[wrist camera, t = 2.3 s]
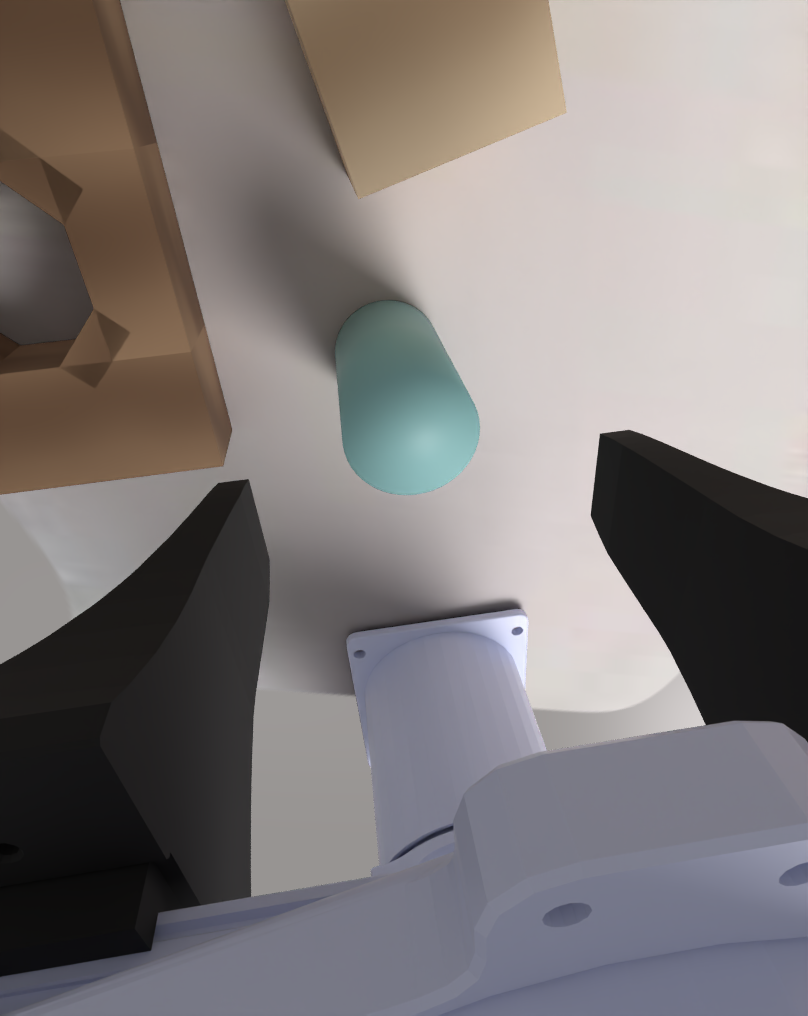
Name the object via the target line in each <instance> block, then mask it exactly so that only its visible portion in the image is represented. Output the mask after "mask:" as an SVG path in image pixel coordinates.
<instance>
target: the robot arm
mask: <svg viewBox="0 0 808 1016" xmlns="http://www.w3.org/2000/svg"><path fill="white" fill-rule="evenodd" d="M591 517H592V520H593V522H594V524H595V527H596V529H597V531H598V534H599V536H600V538H601V540H602V542H603V545H604V547H605V549H606V551H607V553H608V555H609V556H610V558H611V560H612V561H613V563H614V564H615V566H616V567H617V569H618V571H619V572H620V574H621V575H622V577H623V578H624V580H625V581H626V583H627V585H628V586H629V588H630V589H631V591H632V592H633V594H634V595H635V597H636V598H637V600H638V601H639V603H640V604H641V606H642V607H643V609H644V610H645V612H646V613H647V615H648V616H649V618H650V620H651V621H652V623H653V624H654V626H655V627H656V629H657V630H658V632H659V633H660V635H661V637H662V638H663V640H664V642H665V643H666V645H667V647H668V648H669V650H670V652H671V654H672V656H673V658H674V660H675V662H676V664H677V666H678V668H679V670H680V672H681V674H682V676H683V678H684V680H685V682H686V684H687V686H688V688H689V690H690V692H691V694H692V696H693V698H694V700H695V703H696V705H697V707H698V709H699V711H700V713H701V715H702V717H703V720H704V722H705V724H706V725H704V726H698V727H692V728H686V729H679V730H673V731H667V732H661V733H654V734H649V735H642V736H636V737H629V738H623V739H617V740H611V741H605V742H598V743H592V744H586V745H579V746H573V747H567V748H561V749H554V750H548V751H547V749H546V746H545V744H544V741H543V738H542V735H541V733H540V730H539V727H538V724H537V721H536V719H535V716H534V713H533V710H532V707H531V705H530V702H529V699H528V696H527V694H526V691H525V680H526V660H527V640H528V617H527V614H526V612H525V611H524V610H521V609H513V610H506V611H499V612H492V613H485V614H478V615H472V616H465V617H458V618H451V619H444V620H437V621H430V622H423V623H416V624H410V625H403V626H396V627H389V628H382V629H375V630H368V631H361V632H355V633H352V634H351V635H349V636H348V638H347V640H346V645H347V652H348V657H349V663H350V668H351V673H352V679H353V684H354V689H355V695H356V700H357V706H358V711H359V716H360V722H361V727H362V732H363V737H364V743H365V748H366V753H367V759H368V764H369V766H370V767H371V774H372V786H373V797H374V809H375V820H376V831H377V844H378V855H379V866H376V867H373V868H372V869H371V877H367V878H361V879H355V880H349V881H343V882H337V883H331V884H325V885H320V886H313V887H308V888H302V889H296V890H290V891H284V892H278V893H272V894H266V895H260V896H254V897H251V869H250V868H251V775H252V742H253V715H254V705H255V695H256V688H257V681H258V675H259V668H260V661H261V655H262V648H263V641H264V635H265V628H266V621H267V614H268V607H269V585H270V566H269V556H268V552H267V548H266V544H265V540H264V536H263V533H262V529H261V525H260V521H259V517H258V513H257V509H256V506H255V502H254V498H253V494H252V490H251V486H250V482H249V479H247V480H239V481H231V482H223V483H218V484H217V485H216V486H215V487H214V488H213V489H212V490H211V491H210V492H209V493H208V494H207V496H206V497H205V498H204V499H203V500H202V501H201V503H200V504H199V505H198V506H197V507H196V508H195V509H194V511H193V512H192V513H191V514H190V515H189V516H188V517H187V518H186V520H185V521H184V522H183V523H182V524H181V525H180V526H179V527H178V528H177V529H176V531H175V532H174V533H173V534H172V535H171V536H170V537H169V538H168V539H167V540H166V541H165V542H164V543H163V544H162V545H161V546H160V547H159V548H158V549H157V550H156V551H155V552H154V553H153V554H152V555H151V556H150V557H149V558H148V559H147V560H146V561H145V562H144V563H143V564H142V565H141V566H140V567H139V568H138V569H136V570H135V571H134V572H133V573H132V574H131V575H130V576H129V577H127V578H126V579H125V580H124V581H123V582H122V583H121V584H119V585H118V586H117V587H116V588H114V589H113V590H112V591H111V592H109V593H108V594H107V595H106V596H104V597H103V598H102V599H101V600H99V601H98V602H97V603H95V604H94V605H93V606H91V607H90V608H89V609H87V610H86V611H84V612H83V613H81V614H80V615H78V616H77V617H75V618H74V619H73V620H71V621H70V622H68V623H67V624H65V625H64V626H62V627H61V628H60V629H58V630H57V631H55V632H54V633H52V634H51V635H49V636H48V637H46V638H44V639H43V640H41V641H40V642H38V643H36V644H35V645H33V646H31V647H30V648H28V649H27V650H25V651H23V652H21V653H20V654H18V655H16V656H14V657H13V658H11V659H9V660H7V661H6V662H4V663H2V664H0V1016H808V498H805V497H801V496H798V495H795V494H791V493H788V492H785V491H782V490H779V489H776V488H773V487H770V486H767V485H765V484H762V483H759V482H756V481H754V480H751V479H748V478H746V477H743V476H740V475H738V474H735V473H733V472H730V471H728V470H725V469H723V468H720V467H718V466H716V465H713V464H711V463H709V462H706V461H704V460H702V459H699V458H697V457H695V456H692V455H690V454H688V453H685V452H683V451H681V450H679V449H676V448H674V447H672V446H669V445H667V444H665V443H663V442H660V441H658V440H655V439H653V438H651V437H648V436H645V435H643V434H640V433H637V432H634V431H631V430H625V431H617V432H610V433H602V434H600V439H599V447H598V456H597V465H596V474H595V482H594V491H593V500H592V508H591ZM515 627H518V628H516V629H514V628H515ZM358 650H363V651H361V652H356V651H358Z"/></svg>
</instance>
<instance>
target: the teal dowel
mask: <svg viewBox="0 0 808 1016" xmlns="http://www.w3.org/2000/svg"><path fill="white" fill-rule="evenodd" d="M335 360H336V371H337V383H338V395H339V406H340V418H341V430H342V441H343V448H344V452H345V455H346V458H347V460H348V462H349V464H350V466H351V468H352V469H353V470H354V471H355V473H356V474H357V475H358V476H359V477H360V478H361V479H362V480H364V481H365V482H366V483H368V484H369V485H371V486H373V487H374V488H376V489H379V490H381V491H384V492H388V493H391V494H398V495H415V494H421V493H426V492H429V491H432V490H435V489H437V488H439V487H442V486H443V485H445V484H447V483H448V482H450V481H451V480H453V479H454V478H455V477H456V476H457V475H459V474H460V473H461V472H462V471H463V469H464V468H465V467H466V466H467V465H468V463H469V462H470V460H471V458H472V456H473V454H474V453H475V450H476V447H477V444H478V440H479V433H480V423H479V417H478V412H477V410H476V407H475V404H474V402H473V401H472V399H471V397H470V395H469V393H468V391H467V389H466V387H465V386H464V384H463V382H462V380H461V378H460V376H459V374H458V372H457V371H456V369H455V367H454V365H453V363H452V361H451V359H450V358H449V356H448V354H447V352H446V350H445V348H444V346H443V344H442V343H441V341H440V339H439V337H438V335H437V333H436V331H435V329H434V328H433V326H432V324H431V322H430V321H429V320H428V318H427V317H426V316H425V315H424V314H423V313H422V312H421V311H419V310H418V309H416V308H415V307H413V306H411V305H409V304H406V303H404V302H400V301H393V300H382V301H377V302H373V303H370V304H367V305H365V306H363V307H361V308H360V309H358V310H357V311H355V312H354V313H353V314H352V315H351V316H350V317H349V318H348V319H347V320H346V321H345V323H344V324H343V326H342V328H341V330H340V332H339V334H338V337H337V340H336V345H335Z"/></svg>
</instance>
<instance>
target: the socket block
mask: <svg viewBox="0 0 808 1016" xmlns="http://www.w3.org/2000/svg"><path fill="white" fill-rule="evenodd" d="M0 181H1V182H2V183H4V184H5V185H7V186H8V187H10V188H11V189H13V190H14V191H15V192H17V193H18V194H20V195H21V196H23V197H24V198H26V199H27V200H28V201H30V202H31V203H33V204H34V205H36V206H37V207H39V208H40V209H41V210H43V211H44V212H46V213H47V214H49V215H50V216H52V217H53V218H54V219H56V220H57V221H59V222H60V223H62V224H63V225H64V227H65V230H66V232H67V235H68V238H69V241H70V244H71V246H72V249H73V252H74V255H75V258H76V260H77V263H78V266H79V269H80V272H81V274H82V277H83V280H84V283H85V285H86V288H87V291H88V294H89V297H90V299H91V302H92V305H93V308H94V309H93V311H92V313H91V314H90V316H89V318H88V319H87V321H86V323H85V325H84V326H83V328H82V330H81V331H80V333H79V335H78V336H77V338H76V339H72V340H63V341H55V342H46V343H37V344H28V345H19V344H17V343H16V342H14V341H12V340H11V339H9V338H7V337H5V336H4V335H2V334H0V495H1V494H9V493H17V492H24V491H32V490H40V489H48V488H56V487H64V486H71V485H79V484H87V483H95V482H103V481H110V480H118V479H126V478H134V477H142V476H150V475H157V474H165V473H173V472H181V471H189V470H196V469H204V468H212V467H220V466H223V465H224V461H225V457H226V453H227V449H228V445H229V441H230V437H231V433H232V427H231V423H230V419H229V416H228V412H227V408H226V404H225V400H224V397H223V393H222V389H221V385H220V381H219V378H218V374H217V370H216V366H215V362H214V358H213V355H212V351H211V347H210V343H209V339H208V336H207V332H206V328H205V324H204V320H203V316H202V313H201V309H200V305H199V301H198V297H197V294H196V290H195V286H194V282H193V278H192V274H191V271H190V267H189V263H188V259H187V255H186V252H185V248H184V244H183V240H182V236H181V232H180V229H179V225H178V221H177V217H176V213H175V210H174V206H173V202H172V198H171V194H170V190H169V187H168V183H167V179H166V175H165V171H164V168H163V164H162V160H161V156H160V152H159V148H158V145H157V141H156V137H155V133H154V129H153V126H152V122H151V118H150V114H149V110H148V106H147V103H146V99H145V95H144V91H143V87H142V84H141V80H140V76H139V72H138V68H137V64H136V61H135V57H134V53H133V49H132V45H131V42H130V38H129V34H128V30H127V26H126V22H125V19H124V15H123V11H122V7H121V3H120V0H0Z"/></svg>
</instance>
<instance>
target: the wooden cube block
mask: <svg viewBox="0 0 808 1016" xmlns="http://www.w3.org/2000/svg"><path fill="white" fill-rule="evenodd" d="M285 3H286V6H287V8H288V11H289V14H290V17H291V19H292V22H293V25H294V28H295V31H296V33H297V36H298V39H299V42H300V44H301V47H302V50H303V53H304V56H305V58H306V61H307V64H308V67H309V70H310V72H311V75H312V78H313V81H314V83H315V86H316V89H317V92H318V95H319V97H320V100H321V103H322V106H323V109H324V111H325V114H326V117H327V120H328V122H329V125H330V128H331V131H332V134H333V136H334V139H335V142H336V145H337V147H338V150H339V153H340V156H341V159H342V161H343V164H344V167H345V170H346V173H347V175H348V178H349V180H350V182H351V184H352V186H353V188H354V191H355V193H356V195H357V197H358V199H360V198H363V197H365V196H367V195H370V194H372V193H375V192H377V191H380V190H382V189H384V188H387V187H389V186H392V185H394V184H396V183H399V182H401V181H404V180H406V179H408V178H411V177H413V176H416V175H418V174H420V173H423V172H425V171H428V170H430V169H432V168H435V167H437V166H440V165H442V164H444V163H447V162H449V161H452V160H454V159H456V158H459V157H461V156H464V155H466V154H468V153H471V152H473V151H476V150H478V149H480V148H483V147H485V146H488V145H490V144H492V143H495V142H497V141H500V140H502V139H504V138H507V137H509V136H512V135H514V134H516V133H519V132H521V131H524V130H526V129H529V128H531V127H533V126H536V125H538V124H541V123H543V122H545V121H548V120H550V119H553V118H555V117H557V116H560V115H562V114H565V113H567V112H566V106H565V99H564V93H563V87H562V81H561V75H560V69H559V63H558V57H557V51H556V44H555V38H554V32H553V26H552V20H551V14H550V8H549V2H548V0H285Z"/></svg>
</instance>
